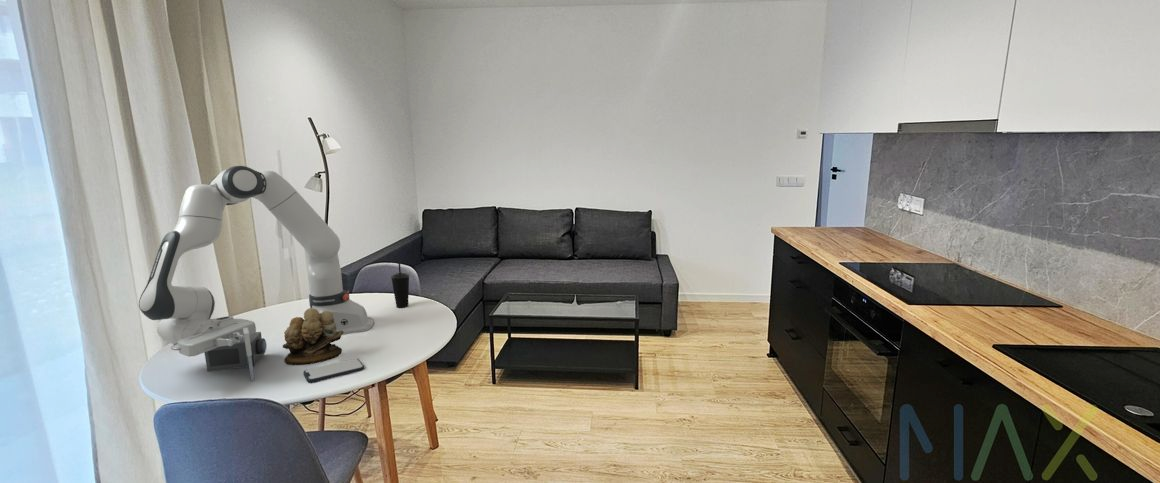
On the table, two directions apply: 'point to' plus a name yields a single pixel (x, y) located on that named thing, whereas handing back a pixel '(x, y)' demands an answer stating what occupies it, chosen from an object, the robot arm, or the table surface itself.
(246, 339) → the side door
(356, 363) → the phone case
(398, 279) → the drinking cup
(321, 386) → the table surface
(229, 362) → the camera body
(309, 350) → the owl figurine
